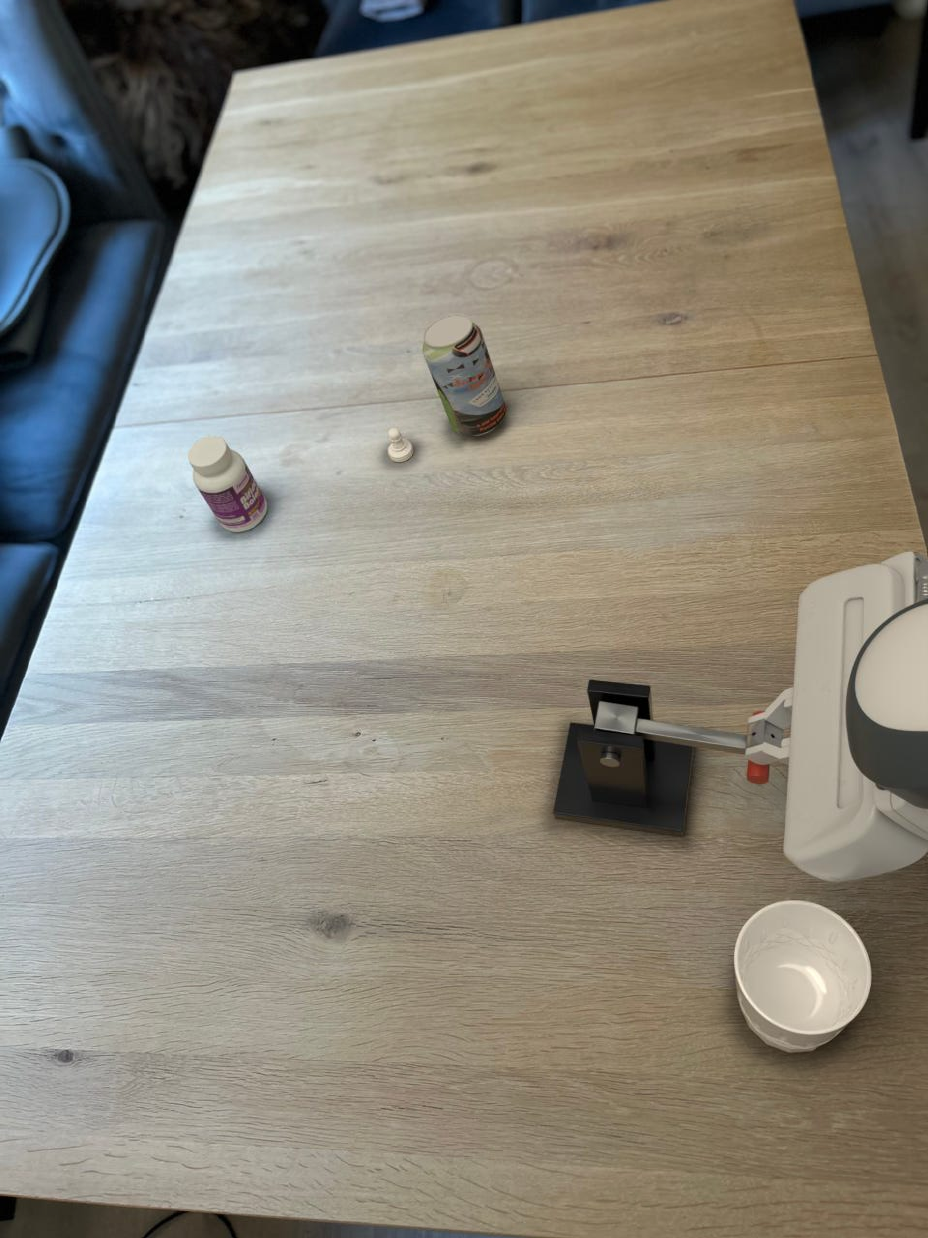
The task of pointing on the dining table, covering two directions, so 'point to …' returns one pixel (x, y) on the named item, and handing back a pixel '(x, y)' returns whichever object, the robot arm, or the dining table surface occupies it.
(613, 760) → the switch bracket
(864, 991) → the white cup
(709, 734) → the power lever
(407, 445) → the chess pawn
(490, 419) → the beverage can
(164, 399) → the dining table surface
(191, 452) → the pill bottle
